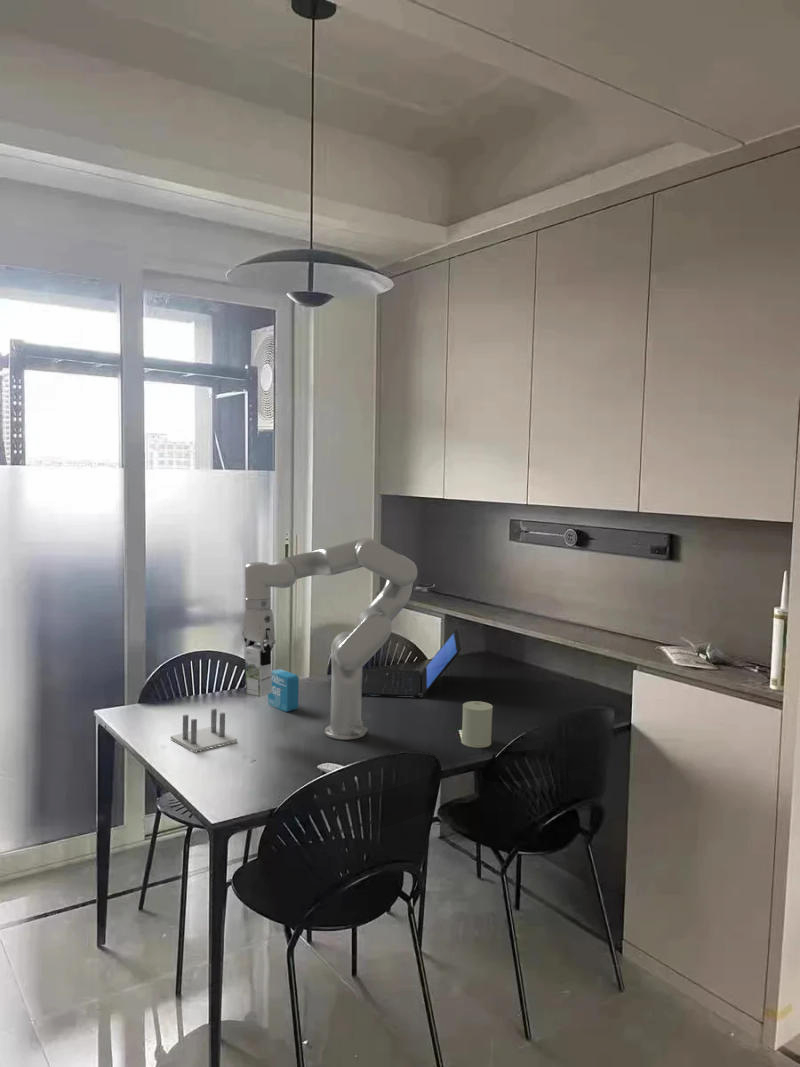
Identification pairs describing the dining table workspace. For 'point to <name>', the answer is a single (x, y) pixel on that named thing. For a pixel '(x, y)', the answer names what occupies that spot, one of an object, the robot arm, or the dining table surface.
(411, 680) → the laptop
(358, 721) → the robot arm
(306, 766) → the dining table surface
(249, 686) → the syrup box
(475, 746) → the can
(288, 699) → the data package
